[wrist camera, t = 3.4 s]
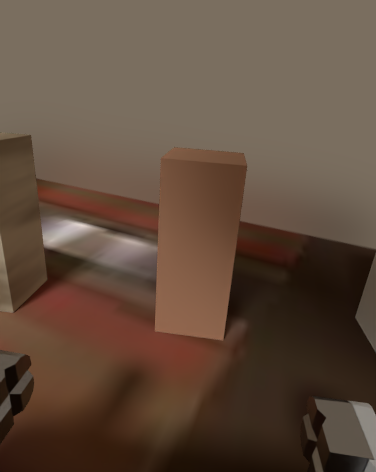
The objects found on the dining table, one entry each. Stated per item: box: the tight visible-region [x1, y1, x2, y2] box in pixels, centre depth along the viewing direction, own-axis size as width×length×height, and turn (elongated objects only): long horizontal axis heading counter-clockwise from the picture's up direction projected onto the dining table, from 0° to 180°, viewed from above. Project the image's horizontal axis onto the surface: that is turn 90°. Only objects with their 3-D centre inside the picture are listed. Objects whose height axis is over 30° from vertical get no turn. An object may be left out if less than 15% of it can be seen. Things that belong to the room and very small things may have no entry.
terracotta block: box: [155, 147, 247, 340], centre depth 21 cm, size 4×4×11 cm
